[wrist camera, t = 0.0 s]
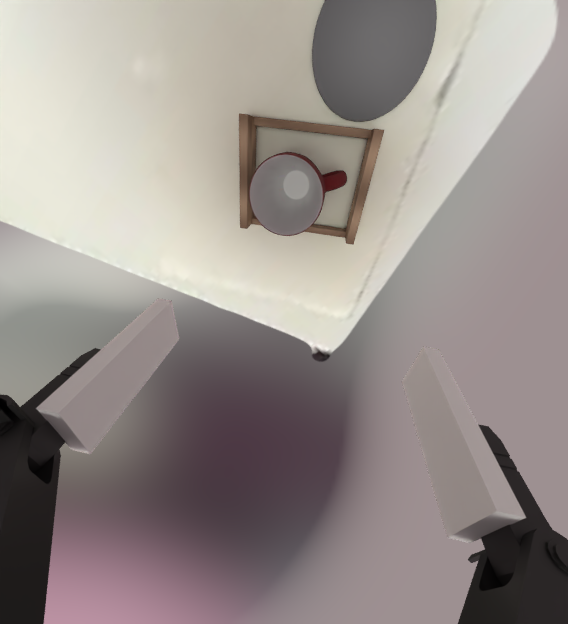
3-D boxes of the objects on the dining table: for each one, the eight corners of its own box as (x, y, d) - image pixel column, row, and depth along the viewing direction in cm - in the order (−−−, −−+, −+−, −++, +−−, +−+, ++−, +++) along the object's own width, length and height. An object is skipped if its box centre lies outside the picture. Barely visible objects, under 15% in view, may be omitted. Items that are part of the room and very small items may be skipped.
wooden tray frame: (248, 116, 30) (239, 113, 27) (378, 131, 29) (384, 130, 26) (247, 220, 38) (240, 227, 34) (351, 235, 36) (353, 244, 33)
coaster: (324, -51, 22) (323, -55, 22) (458, -43, 22) (461, -47, 21) (305, 115, 29) (304, 115, 29) (406, 127, 29) (407, 126, 28)
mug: (335, 129, 30) (336, 124, 22) (350, 197, 34) (356, 214, 26) (258, 165, 33) (235, 173, 25) (280, 222, 37) (266, 245, 29)
